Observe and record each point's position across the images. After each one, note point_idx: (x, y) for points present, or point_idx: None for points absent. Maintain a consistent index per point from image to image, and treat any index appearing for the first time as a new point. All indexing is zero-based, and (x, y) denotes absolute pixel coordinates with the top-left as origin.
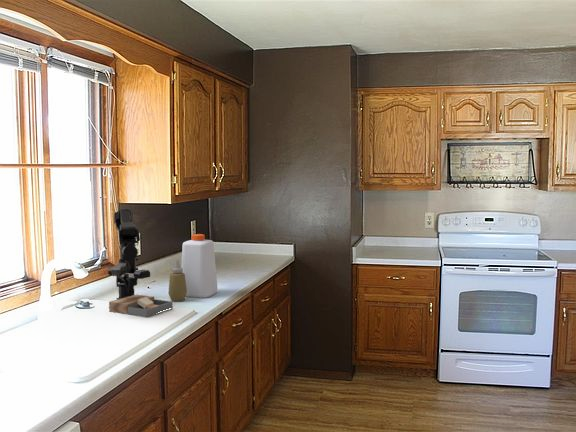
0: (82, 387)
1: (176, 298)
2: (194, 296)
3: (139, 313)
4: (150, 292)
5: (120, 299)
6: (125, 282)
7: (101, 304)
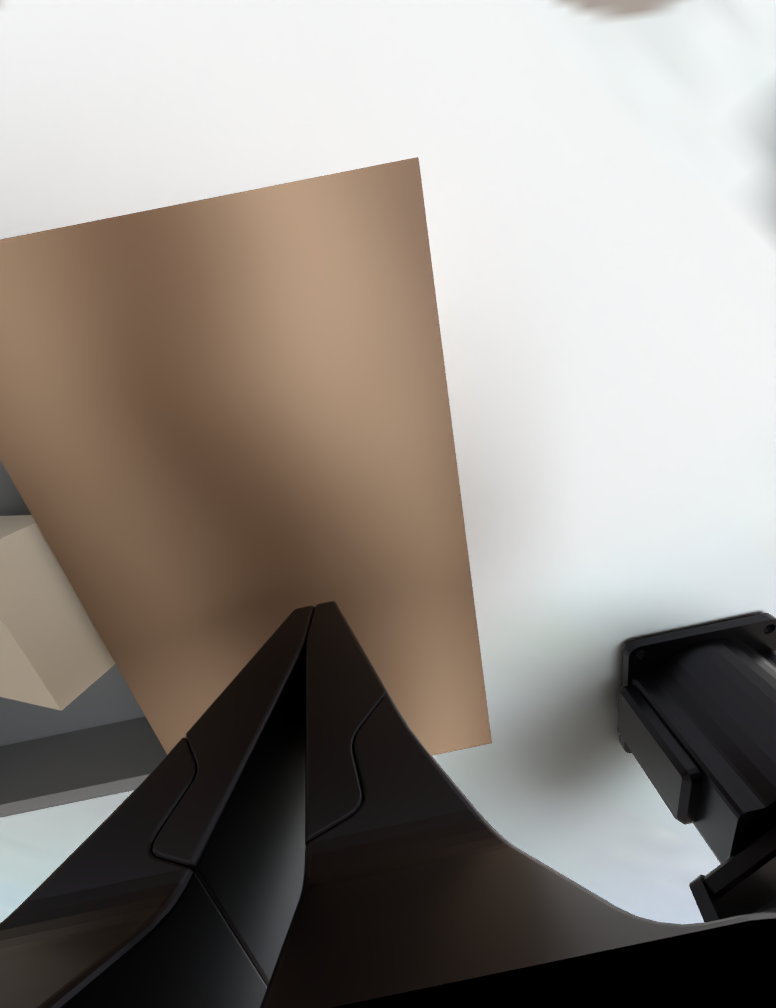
0: None
1: None
2: None
3: None
4: (664, 875)
5: (406, 439)
6: (342, 795)
7: None
